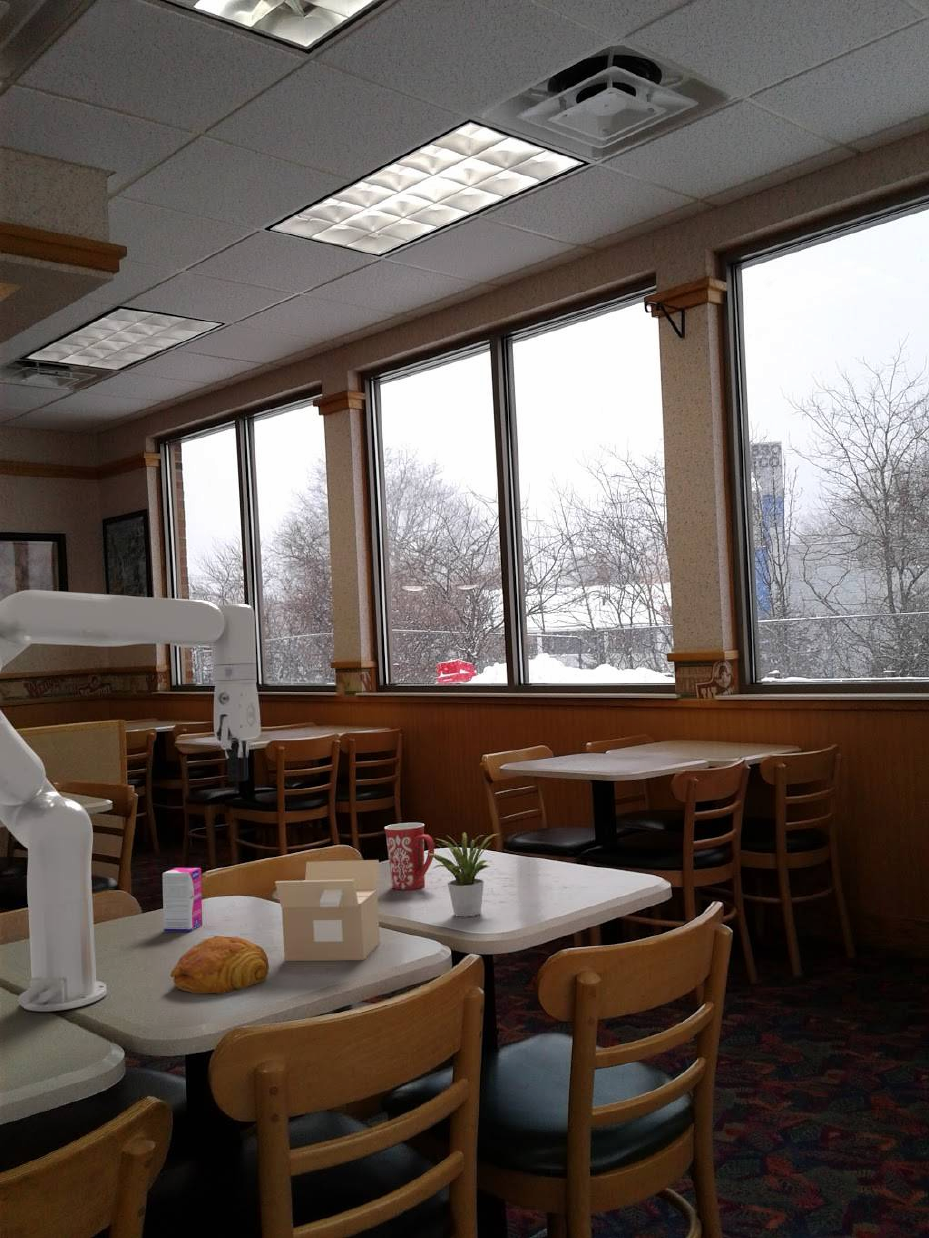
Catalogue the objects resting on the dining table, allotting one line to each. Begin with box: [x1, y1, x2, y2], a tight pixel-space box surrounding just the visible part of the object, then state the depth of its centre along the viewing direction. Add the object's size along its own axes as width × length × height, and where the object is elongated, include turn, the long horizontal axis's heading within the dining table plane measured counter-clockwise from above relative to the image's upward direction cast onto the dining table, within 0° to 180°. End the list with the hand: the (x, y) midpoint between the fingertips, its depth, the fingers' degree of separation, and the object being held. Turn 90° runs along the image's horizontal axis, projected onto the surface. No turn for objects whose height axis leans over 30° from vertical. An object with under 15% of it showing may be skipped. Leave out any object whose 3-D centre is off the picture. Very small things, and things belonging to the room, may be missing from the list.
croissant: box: [170, 935, 270, 995], centre depth 177 cm, size 14×16×8 cm
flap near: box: [274, 879, 359, 908], centre depth 183 cm, size 5×14×4 cm
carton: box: [281, 888, 381, 962], centre depth 191 cm, size 11×14×10 cm
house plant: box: [424, 831, 501, 917], centre depth 215 cm, size 14×14×16 cm
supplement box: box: [162, 867, 203, 933], centre depth 215 cm, size 6×6×12 cm
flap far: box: [304, 859, 380, 890], centre depth 200 cm, size 5×14×4 cm
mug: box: [383, 822, 435, 891], centre depth 241 cm, size 13×9×14 cm
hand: (237, 780), depth 189 cm, fingers closed
